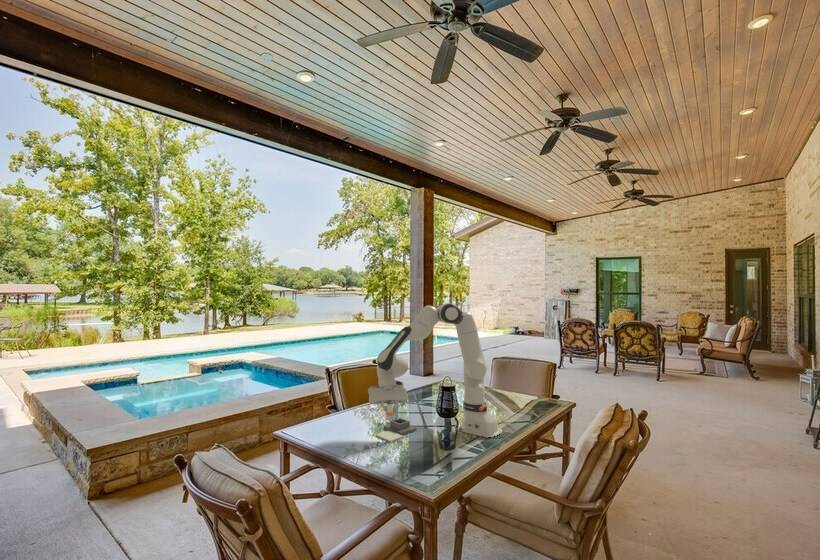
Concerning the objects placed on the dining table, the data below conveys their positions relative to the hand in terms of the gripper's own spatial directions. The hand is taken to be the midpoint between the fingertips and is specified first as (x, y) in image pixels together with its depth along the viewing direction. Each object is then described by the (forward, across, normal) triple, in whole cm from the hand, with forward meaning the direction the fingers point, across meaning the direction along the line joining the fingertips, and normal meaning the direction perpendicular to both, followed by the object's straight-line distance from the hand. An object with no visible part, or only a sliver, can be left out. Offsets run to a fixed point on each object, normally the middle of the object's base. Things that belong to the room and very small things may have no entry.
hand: (390, 410), depth 203 cm
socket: (+3, +8, +16) cm, 18 cm away
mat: (+9, 0, +10) cm, 14 cm away
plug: (+3, 0, +4) cm, 5 cm away
